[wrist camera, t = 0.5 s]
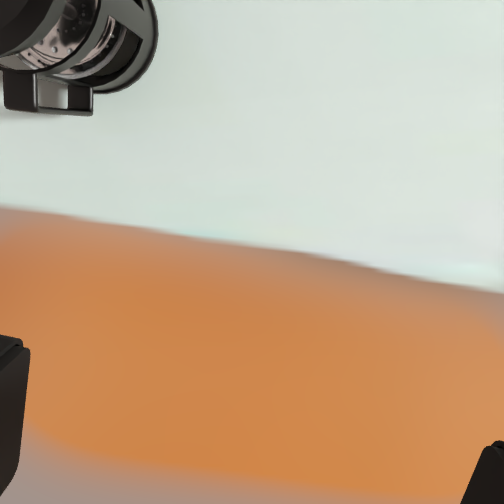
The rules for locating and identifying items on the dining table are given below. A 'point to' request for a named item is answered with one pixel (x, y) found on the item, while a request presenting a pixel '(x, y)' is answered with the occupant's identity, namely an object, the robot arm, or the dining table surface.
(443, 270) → the dining table surface
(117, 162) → the dining table surface
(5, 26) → the french press
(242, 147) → the dining table surface
